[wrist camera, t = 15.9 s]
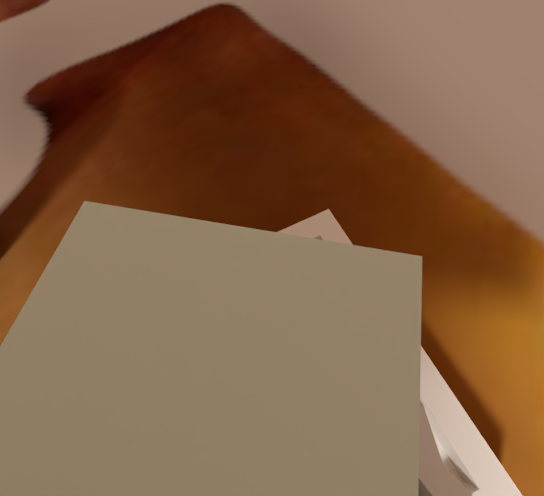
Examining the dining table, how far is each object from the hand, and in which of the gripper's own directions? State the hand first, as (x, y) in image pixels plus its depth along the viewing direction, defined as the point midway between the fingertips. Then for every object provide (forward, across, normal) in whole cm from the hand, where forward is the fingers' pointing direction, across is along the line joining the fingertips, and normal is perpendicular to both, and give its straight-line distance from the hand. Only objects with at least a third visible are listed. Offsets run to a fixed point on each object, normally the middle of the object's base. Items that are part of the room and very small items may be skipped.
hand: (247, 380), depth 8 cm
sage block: (+3, 0, +4) cm, 5 cm away
